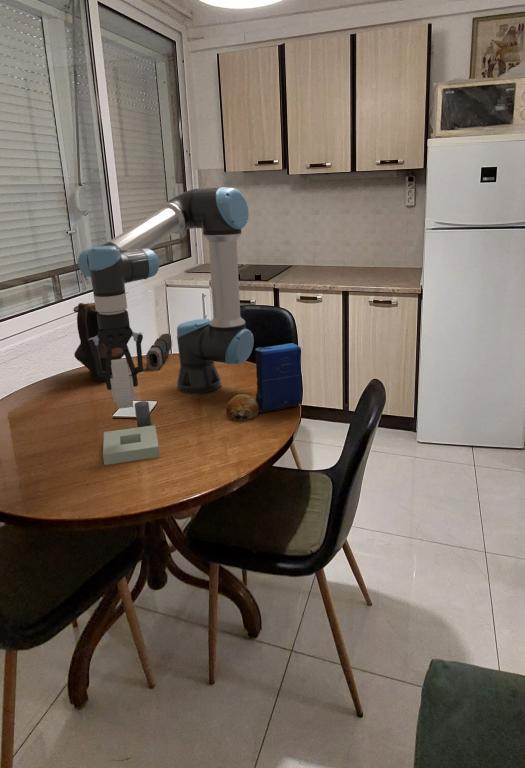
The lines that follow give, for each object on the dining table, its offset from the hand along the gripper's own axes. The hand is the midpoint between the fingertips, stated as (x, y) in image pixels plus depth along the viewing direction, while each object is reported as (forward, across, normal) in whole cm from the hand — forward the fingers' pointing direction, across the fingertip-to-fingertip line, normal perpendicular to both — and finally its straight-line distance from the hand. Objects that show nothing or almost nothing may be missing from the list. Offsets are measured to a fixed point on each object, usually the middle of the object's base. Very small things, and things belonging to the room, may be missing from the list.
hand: (124, 399), depth 144 cm
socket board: (+15, 0, 0) cm, 15 cm away
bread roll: (+15, -33, -12) cm, 38 cm away
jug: (+15, +9, -64) cm, 66 cm away
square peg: (+2, 0, 0) cm, 2 cm away
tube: (+15, -14, -80) cm, 82 cm away
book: (+14, -45, -14) cm, 49 cm away
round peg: (+15, -4, -12) cm, 19 cm away
